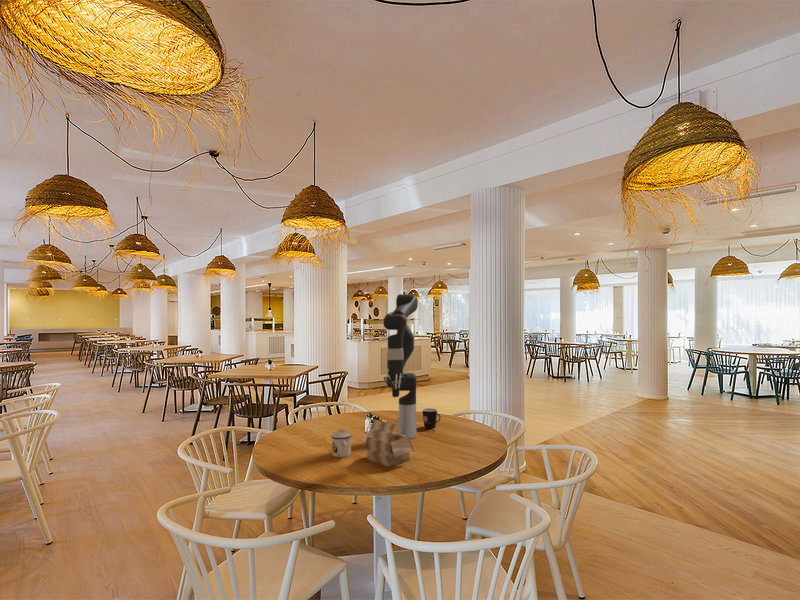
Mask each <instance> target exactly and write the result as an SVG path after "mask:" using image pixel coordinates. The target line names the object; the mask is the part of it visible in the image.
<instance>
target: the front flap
mask: <svg viewBox="0 0 800 600" xmlns="http://www.w3.org/2000/svg"><path fill="white" fill-rule="evenodd" d="M395 426H396V424H395V423H392V422H391V423H390V422H386V421H382V420H379V419H374V420H373V422H372V423H371V425H370V428H369V430H368V432H367V435H366V438H367V437H370V438H374V439H377V440H381V441H384V442H387V443H388V441H389V438H390V436H391V434H392V432H394V429H395Z"/></svg>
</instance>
